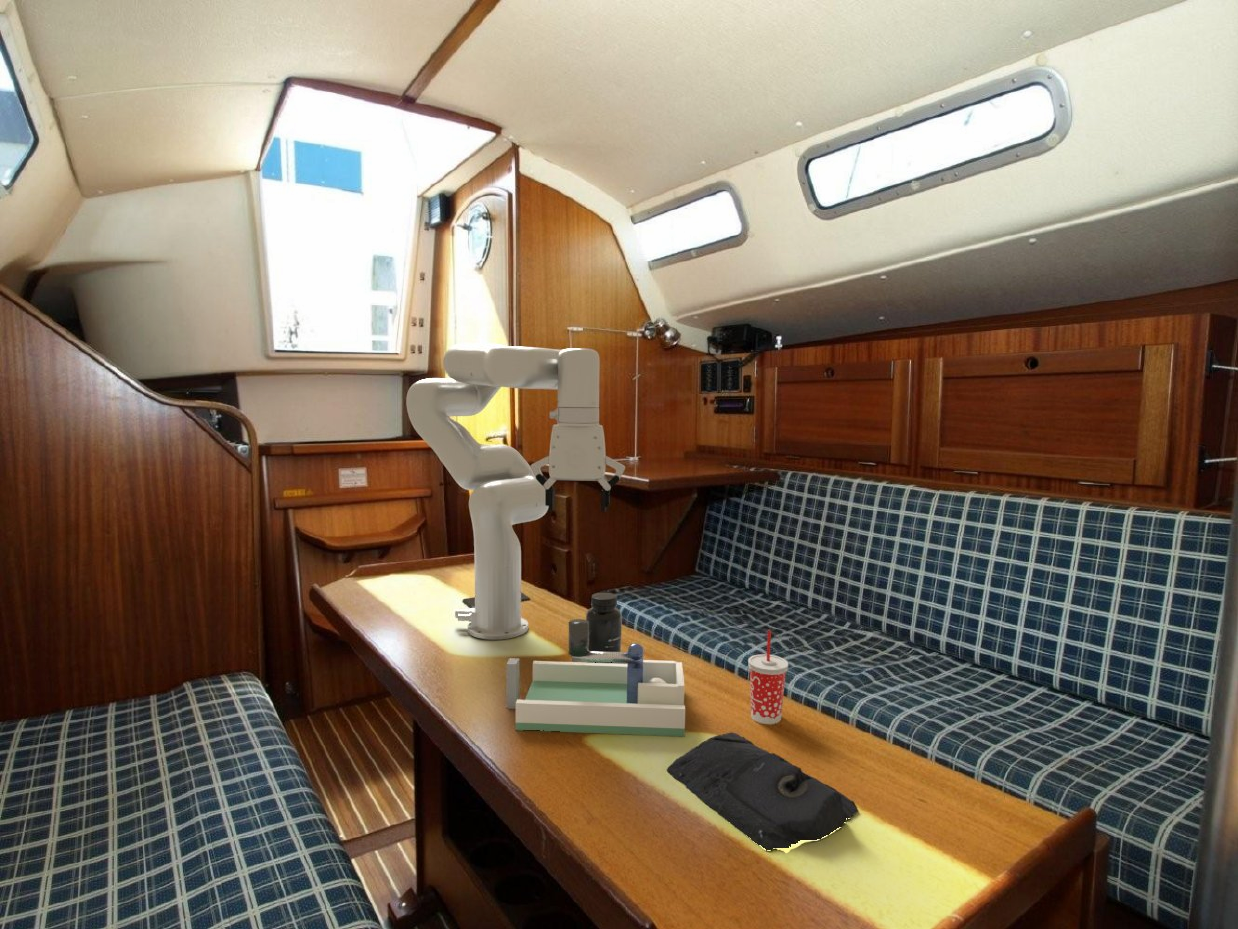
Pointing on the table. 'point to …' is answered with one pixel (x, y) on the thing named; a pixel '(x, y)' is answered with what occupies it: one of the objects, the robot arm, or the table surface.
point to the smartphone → (471, 601)
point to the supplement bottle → (604, 624)
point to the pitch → (598, 698)
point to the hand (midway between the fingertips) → (577, 510)
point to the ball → (656, 681)
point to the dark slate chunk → (761, 792)
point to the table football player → (607, 656)
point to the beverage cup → (767, 686)
